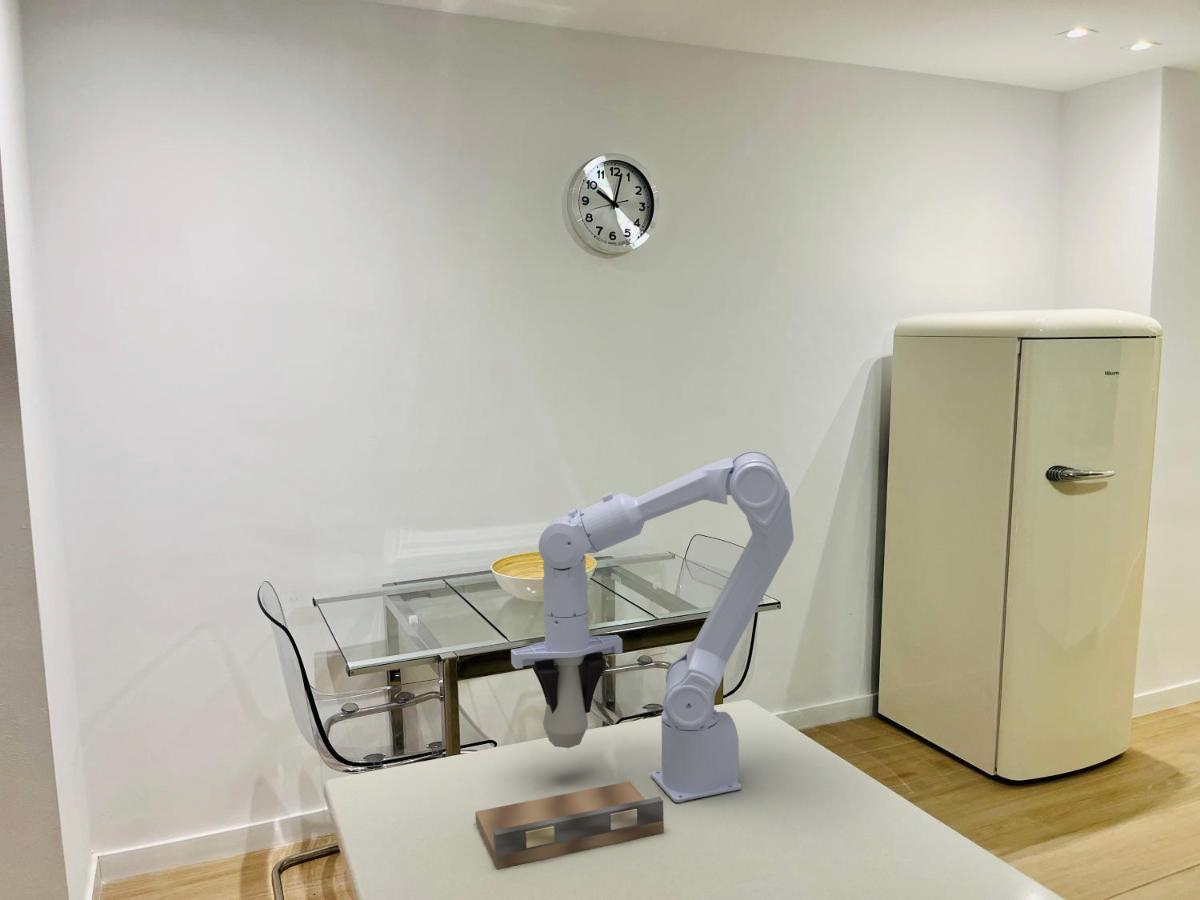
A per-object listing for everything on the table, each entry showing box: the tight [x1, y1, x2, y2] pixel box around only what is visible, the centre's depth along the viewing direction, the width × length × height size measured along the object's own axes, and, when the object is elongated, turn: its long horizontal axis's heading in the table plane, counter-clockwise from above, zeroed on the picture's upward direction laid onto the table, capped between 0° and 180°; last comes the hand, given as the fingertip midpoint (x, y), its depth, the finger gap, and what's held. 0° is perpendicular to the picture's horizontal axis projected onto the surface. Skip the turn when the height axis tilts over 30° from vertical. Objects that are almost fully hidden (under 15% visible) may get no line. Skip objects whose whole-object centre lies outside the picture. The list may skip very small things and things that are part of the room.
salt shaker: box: [542, 655, 589, 749], centre depth 121 cm, size 6×6×13 cm
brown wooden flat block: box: [474, 780, 665, 870], centre depth 110 cm, size 20×11×4 cm, turn 110°
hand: (569, 712), depth 121 cm, fingers closed on salt shaker, 4 cm apart
